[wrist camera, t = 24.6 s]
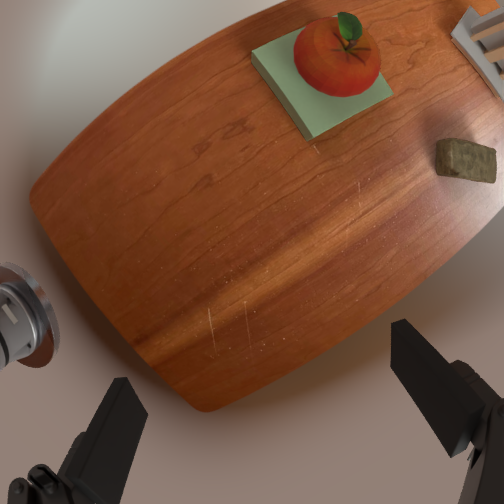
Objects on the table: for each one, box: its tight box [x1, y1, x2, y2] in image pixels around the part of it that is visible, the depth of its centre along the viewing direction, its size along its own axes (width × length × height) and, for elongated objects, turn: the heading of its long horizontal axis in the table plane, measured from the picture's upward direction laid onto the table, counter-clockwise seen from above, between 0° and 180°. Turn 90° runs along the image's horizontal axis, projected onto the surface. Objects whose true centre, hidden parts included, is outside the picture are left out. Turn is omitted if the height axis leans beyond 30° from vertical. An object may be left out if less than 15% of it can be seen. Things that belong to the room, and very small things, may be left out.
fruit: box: [293, 12, 381, 98], centre depth 24 cm, size 10×10×10 cm
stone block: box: [436, 138, 497, 183], centre depth 33 cm, size 6×12×5 cm, turn 92°
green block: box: [251, 15, 394, 141], centre depth 31 cm, size 13×13×4 cm
